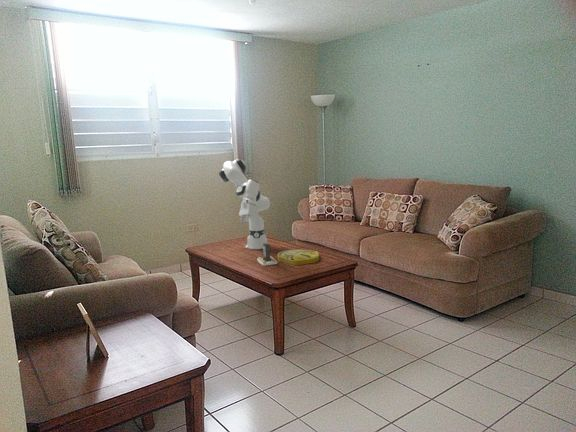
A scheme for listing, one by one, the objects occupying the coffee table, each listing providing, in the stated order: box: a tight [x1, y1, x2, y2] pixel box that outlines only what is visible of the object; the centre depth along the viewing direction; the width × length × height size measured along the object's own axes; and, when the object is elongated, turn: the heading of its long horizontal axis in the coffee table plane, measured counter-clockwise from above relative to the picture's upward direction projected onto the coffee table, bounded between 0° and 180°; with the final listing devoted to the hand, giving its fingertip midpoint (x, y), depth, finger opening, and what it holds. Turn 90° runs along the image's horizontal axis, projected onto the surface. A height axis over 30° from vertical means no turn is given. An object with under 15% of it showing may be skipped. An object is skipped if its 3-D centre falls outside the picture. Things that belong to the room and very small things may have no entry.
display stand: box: [256, 255, 278, 266], centre depth 301 cm, size 13×10×3 cm
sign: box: [277, 249, 320, 266], centre depth 308 cm, size 28×3×30 cm
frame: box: [262, 242, 271, 262], centre depth 300 cm, size 6×4×11 cm
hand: (243, 222), depth 297 cm, fingers open, 8 cm apart
